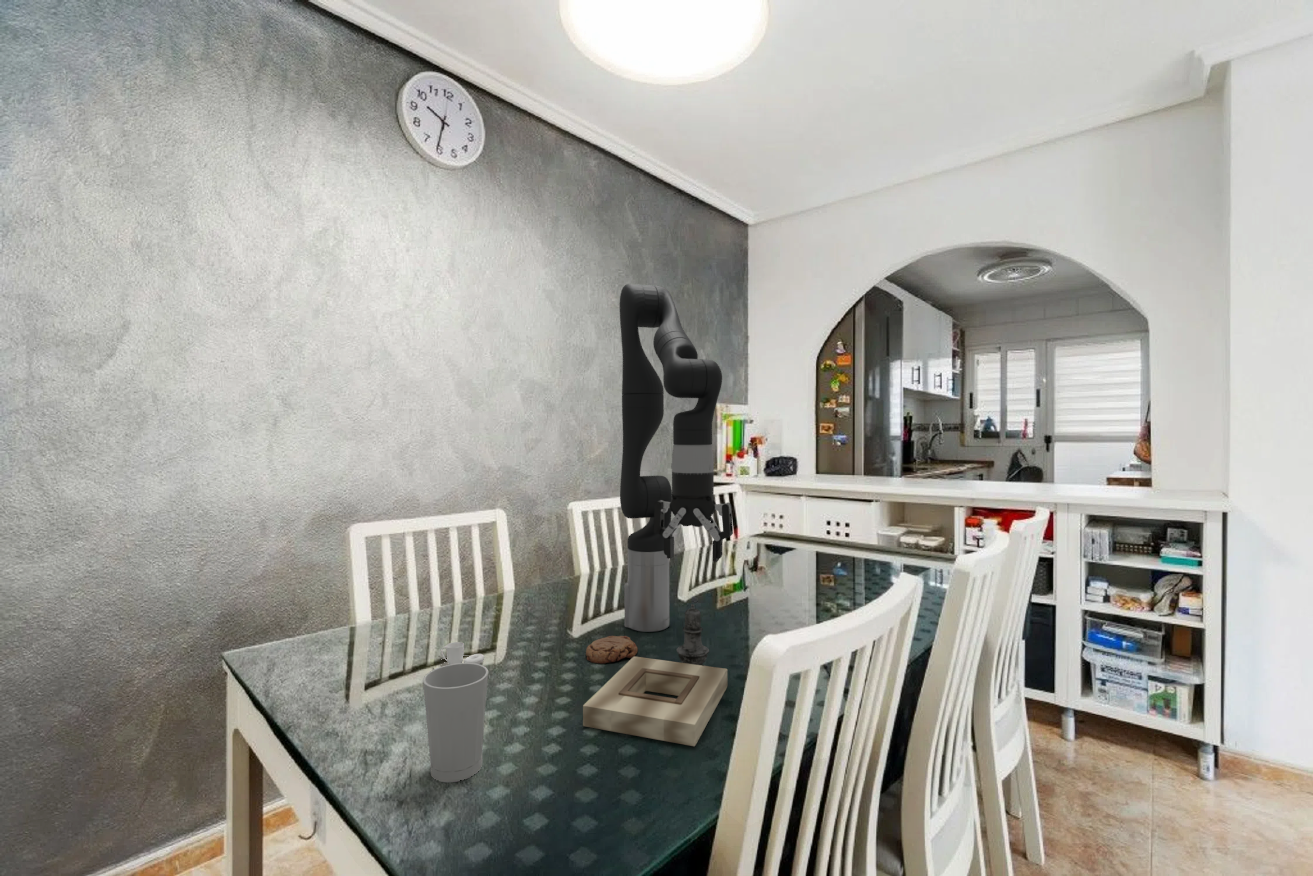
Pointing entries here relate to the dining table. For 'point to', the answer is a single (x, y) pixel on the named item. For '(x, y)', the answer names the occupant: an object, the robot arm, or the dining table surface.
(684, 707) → the birch frame
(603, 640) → the cookie
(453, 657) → the teacup and saucer
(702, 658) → the dark grey tall piece
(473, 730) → the cup
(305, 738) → the dining table surface
